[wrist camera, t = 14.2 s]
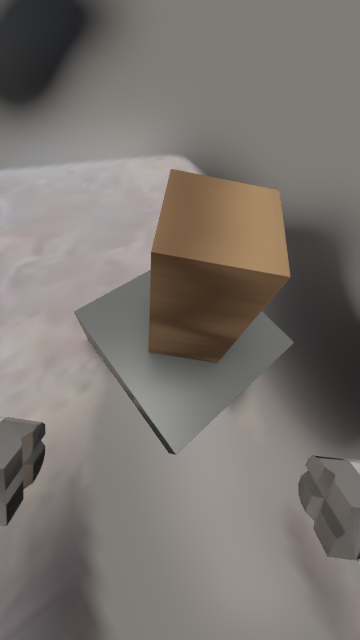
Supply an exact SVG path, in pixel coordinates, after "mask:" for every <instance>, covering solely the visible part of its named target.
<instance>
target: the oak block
mask: <svg viewBox="0 0 360 640" xmlns="http://www.w3.org/2000/svg"><path fill="white" fill-rule="evenodd" d="M289 278H290V271H289V263H288V255H287V247H286V239H285V231H284V223H283V215H282V207H281V199H280V192H279V190H274V189H269V188H264V187H259V186H253V185H249V184H243V183H239V182H234V181H229V180H224V179H219V178H214V177H209V176H204V175H199V174H194V173H189V172H184V171H179V170H174V169H171V171H170V175H169V180H168V184H167V188H166V192H165V196H164V201H163V205H162V209H161V213H160V217H159V222H158V226H157V230H156V234H155V238H154V243H153V247H152V251H151V279H150V312H149V346H148V352H150V353H156V354H162V355H169V356H175V357H181V358H188V359H194V360H200V361H207V362H213V363H218V362H219V361H220V359H221V358H222V357H223V356H224V355H225V354H226V352H227V351H228V350H229V349H230V348H231V346H232V345H233V344H234V343H235V342H236V341H237V339H238V338H239V337H240V336H241V335H242V333H243V332H244V331H245V330H246V329H247V328H248V326H249V325H250V324H251V323H252V322H253V320H254V319H255V318H256V317H257V316H258V315H259V313H260V312H261V311H262V310H263V308H264V307H265V306H266V305H267V304H268V303H269V302H270V300H271V299H272V298H273V297H274V296H275V294H276V293H277V292H278V291H279V290H280V289H281V287H282V286H283V285H284V284H285V283H286V281H287V280H288V279H289Z"/></svg>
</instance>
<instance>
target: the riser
mask: <svg viewBox="0 0 360 640" xmlns="http://www.w3.org/2000/svg"><path fill="white" fill-rule="evenodd" d="M150 279H151V270H150V271H148V272H146V273H144V274H142V275H140V276H139V277H137V278H135V279H133V280H131V281H129V282H128V283H126V284H124V285H122V286H120V287H118V288H117V289H115V290H113V291H111V292H109V293H107V294H105V295H104V296H102V297H100V298H98V299H96V300H94V301H93V302H91V303H89V304H87V305H85V306H83V307H82V308H80V309H78V310H76V311H74V313H75V315H76V317H77V319H78V321H79V323H80V324H81V326H82V328H83V330H84V332H85V334H86V336H87V338H88V339H89V341H90V342H91V344H92V345H93V347H94V348H95V349H96V351H97V352H98V354H99V355H100V356H101V358H102V359H103V361H104V362H105V363H106V365H107V366H108V368H109V369H110V371H111V372H112V373H113V375H114V376H115V378H116V379H117V380H118V382H119V383H120V385H121V386H122V387H123V389H124V390H125V392H126V393H127V395H128V396H129V397H130V399H131V400H132V402H133V403H134V404H135V406H136V407H137V409H138V410H139V411H140V413H141V414H142V416H143V417H144V419H145V420H146V421H147V423H148V424H149V426H150V427H151V428H152V430H153V431H154V433H155V434H156V436H157V437H158V438H159V440H160V441H161V443H162V444H163V445H164V447H165V448H166V450H167V451H168V452H169V453H171V454H177V453H178V452H179V451H180V450H181V449H182V448H184V447H185V445H187V444H188V443H189V442H190V441H191V440H192V439H193V438H194V437H195V436H196V435H197V434H198V433H199V432H200V431H201V430H202V429H204V427H206V426H207V425H208V424H209V423H210V422H211V421H212V420H213V419H214V418H215V417H216V416H217V415H218V414H219V413H220V412H221V411H222V410H224V409H225V408H226V407H227V406H228V405H229V404H230V403H231V402H232V401H233V400H234V399H235V398H236V397H237V396H238V395H239V394H240V393H241V392H242V391H243V390H245V389H246V388H247V387H248V386H249V385H250V384H251V383H252V382H253V381H254V380H255V379H256V378H257V377H258V376H259V375H260V374H261V373H262V372H263V371H265V370H266V368H268V367H269V366H270V365H271V364H272V363H273V362H274V361H275V360H276V359H277V358H278V357H279V356H280V355H281V354H282V353H283V352H284V351H285V350H286V349H288V348H289V347H290V346H291V345H292V344H293V341H292V340H291V339H290V338H288V336H287V335H286V334H285V333H283V332H282V331H281V330H280V329H279V328H278V327H277V326H276V325H275V324H274V323H273V322H272V321H271V320H270V319H269V318H268V317H267V316H266V315H265V314H264V313H263V312H262V311H261V312H260V313H259V315H258V316H257V317H256V318H255V319H254V320H253V322H252V323H251V324H250V325H249V326H248V328H247V329H246V330H245V331H244V332H243V333H242V335H241V336H240V337H239V338H238V339H237V341H236V342H235V343H234V344H233V345H232V346H231V348H230V349H229V350H228V351H227V352H226V354H225V355H224V356H223V357H222V358H221V359H220V361H219V362H218V363H213V362H207V361H200V360H194V359H188V358H181V357H175V356H169V355H162V354H156V353H150V352H148V346H149V312H150Z"/></svg>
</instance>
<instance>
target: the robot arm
mask: <svg viewBox="0 0 360 640" xmlns="http://www.w3.org/2000/svg"><path fill="white" fill-rule="evenodd" d="M44 435H45V424H44V423H42V422H36V421H30V420H23V419H16V418H9V417H8V418H6V417H0V526H7V525H8V523H9V522H10V520H11V518H12V517H13V515H14V514H15V512H16V510H17V509H18V507H19V505H20V504H21V502H22V500H23V489H25V488H26V487H28V486H29V485H31V484H32V483H33V482H34V480H35V479H36V477H37V475H38V474H39V471H40V469H41V466H42V464H43V461H44V456H45V445H44V444H43V442H42V441H41V439H42V438H43V436H44ZM306 467H307V469H308V471H307V472H306V473H304V474H303V475H302V476H301V478H300V481H299V484H298V488H299V497H300V501H301V504H302V506H303V508H304V510H305V512H306V513H307V514H308V515H309V516H310V517H311V518H312V519H313V520H314V531H315V533H316V535H317V537H318V539H319V541H320V543H321V545H322V547H323V549H324V551H325V553H326V555H327V557H334V558H342V559H350V560H357V561H358V563H359V564H360V461H359V460H351V459H340V458H331V457H322V456H313V455H312V456H311V457H310V458H308V461H307V463H306Z"/></svg>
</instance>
